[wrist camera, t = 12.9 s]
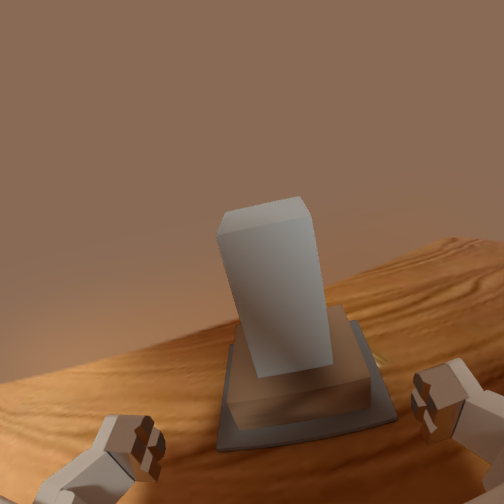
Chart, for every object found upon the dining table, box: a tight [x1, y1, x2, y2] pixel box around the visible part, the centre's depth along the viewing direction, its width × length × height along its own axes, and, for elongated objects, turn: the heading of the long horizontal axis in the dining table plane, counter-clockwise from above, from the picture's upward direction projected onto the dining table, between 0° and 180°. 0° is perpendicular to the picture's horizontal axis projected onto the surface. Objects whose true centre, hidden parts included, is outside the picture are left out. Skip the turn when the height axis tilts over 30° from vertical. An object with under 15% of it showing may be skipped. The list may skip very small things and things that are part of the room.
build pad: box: [216, 320, 398, 452], centre depth 23 cm, size 12×12×1 cm
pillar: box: [216, 196, 333, 378], centre depth 20 cm, size 5×5×10 cm
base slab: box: [227, 304, 371, 430], centre depth 23 cm, size 9×9×3 cm
